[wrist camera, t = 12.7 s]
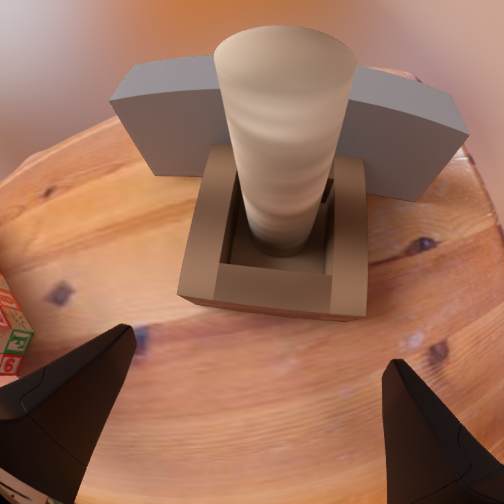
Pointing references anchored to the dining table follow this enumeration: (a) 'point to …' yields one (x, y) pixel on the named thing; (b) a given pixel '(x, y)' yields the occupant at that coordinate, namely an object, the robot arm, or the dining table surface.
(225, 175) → the socket block
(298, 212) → the dowel
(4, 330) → the stack of blocks
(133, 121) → the board
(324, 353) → the dining table surface
